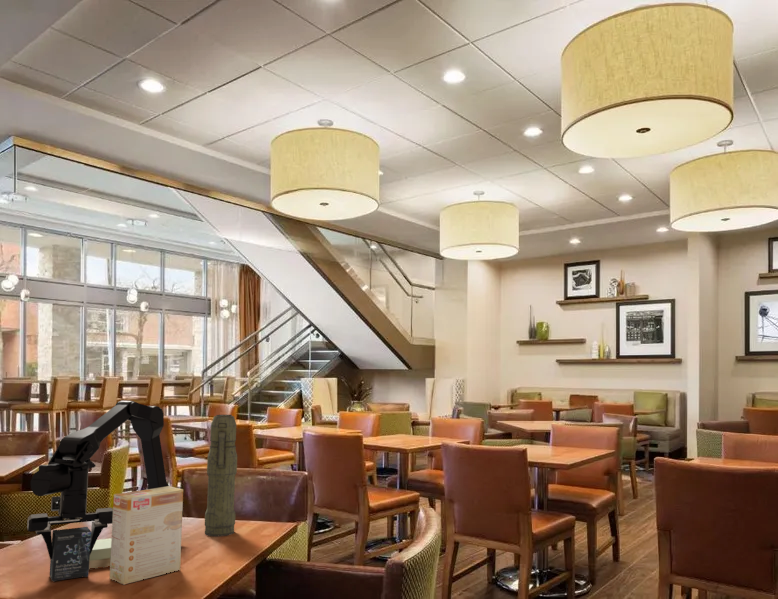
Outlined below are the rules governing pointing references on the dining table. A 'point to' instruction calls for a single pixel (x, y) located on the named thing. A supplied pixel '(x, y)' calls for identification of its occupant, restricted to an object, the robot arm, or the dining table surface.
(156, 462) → the robot arm
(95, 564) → the lower slab
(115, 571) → the coffeecake box
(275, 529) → the dining table surface
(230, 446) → the thermos
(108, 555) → the upper slab
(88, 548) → the box
